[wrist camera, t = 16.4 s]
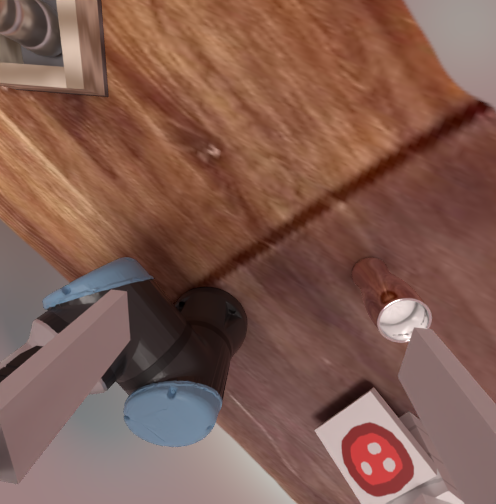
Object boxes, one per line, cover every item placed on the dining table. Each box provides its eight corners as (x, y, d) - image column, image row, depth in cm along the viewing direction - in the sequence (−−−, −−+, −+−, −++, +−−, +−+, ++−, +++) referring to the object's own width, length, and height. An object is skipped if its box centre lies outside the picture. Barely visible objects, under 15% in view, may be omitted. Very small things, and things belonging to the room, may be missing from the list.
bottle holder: (108, 96, 45) (84, 89, 39) (18, 89, 46) (-19, 81, 40) (99, -25, 40) (69, -54, 34) (-3, -30, 41) (-48, -59, 35)
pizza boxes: (371, 370, 57) (410, 463, 40) (470, 449, 61) (543, 564, 45) (304, 419, 63) (314, 518, 46) (398, 489, 68) (438, 602, 51)
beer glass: (342, 284, 52) (366, 335, 38) (358, 249, 49) (389, 290, 35) (379, 295, 52) (417, 350, 37) (397, 261, 49) (444, 306, 35)
